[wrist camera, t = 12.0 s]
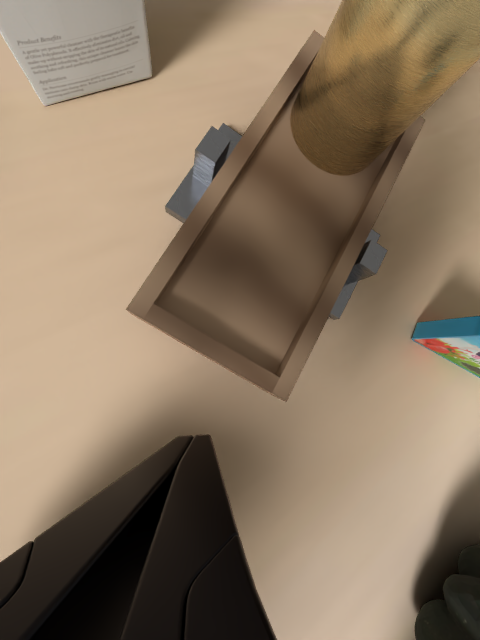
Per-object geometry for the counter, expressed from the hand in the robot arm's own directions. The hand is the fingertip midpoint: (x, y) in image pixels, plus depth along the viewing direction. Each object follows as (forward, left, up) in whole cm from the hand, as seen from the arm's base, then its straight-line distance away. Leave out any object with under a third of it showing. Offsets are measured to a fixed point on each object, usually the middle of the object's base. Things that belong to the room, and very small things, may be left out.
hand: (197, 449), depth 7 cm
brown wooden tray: (+9, -10, -10) cm, 17 cm away
